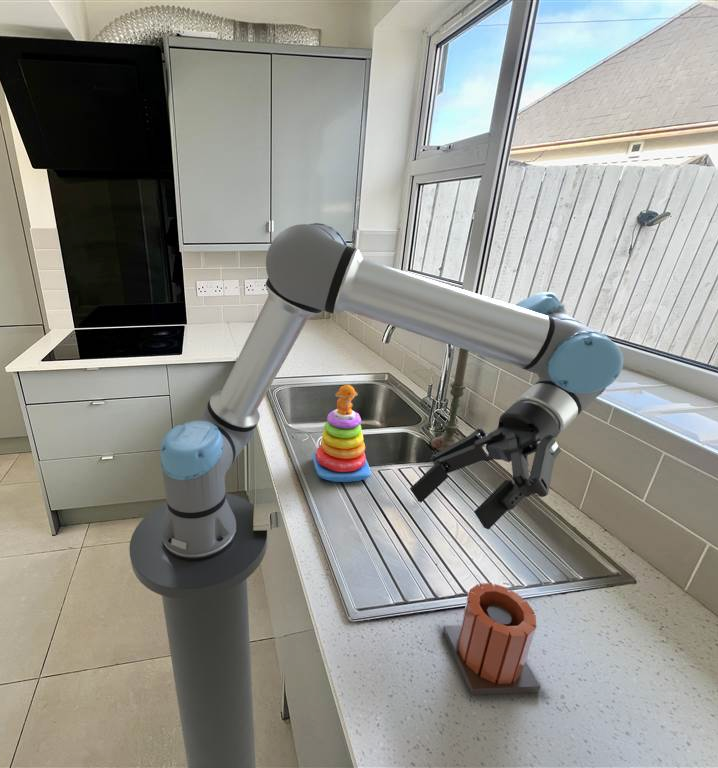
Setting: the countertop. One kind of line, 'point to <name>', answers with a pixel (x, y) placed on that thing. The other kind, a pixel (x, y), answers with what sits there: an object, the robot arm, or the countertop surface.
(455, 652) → the ring holder
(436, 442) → the candlestick holder
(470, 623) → the ring
